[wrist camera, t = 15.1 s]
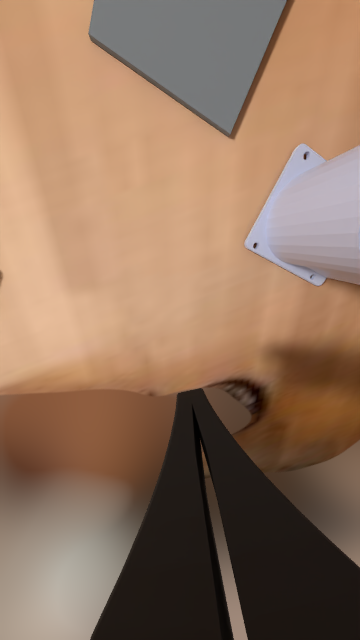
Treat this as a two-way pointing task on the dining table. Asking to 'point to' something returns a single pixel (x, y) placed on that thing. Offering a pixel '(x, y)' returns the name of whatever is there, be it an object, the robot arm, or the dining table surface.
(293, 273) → the robot arm
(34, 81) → the dining table surface
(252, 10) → the mat
